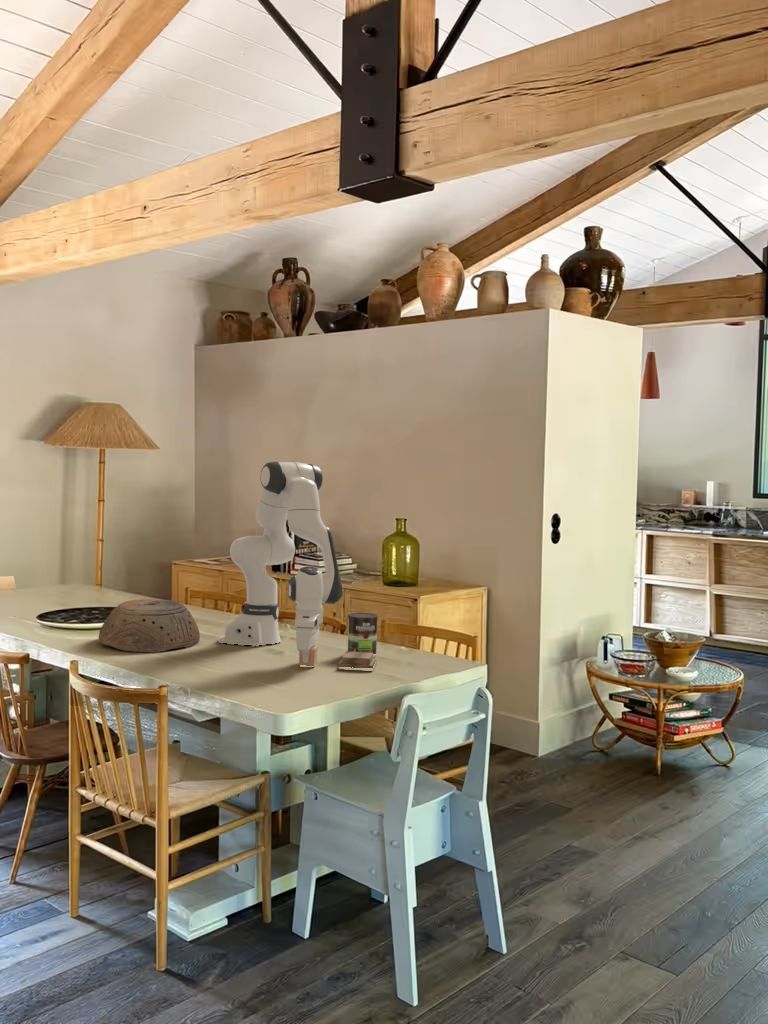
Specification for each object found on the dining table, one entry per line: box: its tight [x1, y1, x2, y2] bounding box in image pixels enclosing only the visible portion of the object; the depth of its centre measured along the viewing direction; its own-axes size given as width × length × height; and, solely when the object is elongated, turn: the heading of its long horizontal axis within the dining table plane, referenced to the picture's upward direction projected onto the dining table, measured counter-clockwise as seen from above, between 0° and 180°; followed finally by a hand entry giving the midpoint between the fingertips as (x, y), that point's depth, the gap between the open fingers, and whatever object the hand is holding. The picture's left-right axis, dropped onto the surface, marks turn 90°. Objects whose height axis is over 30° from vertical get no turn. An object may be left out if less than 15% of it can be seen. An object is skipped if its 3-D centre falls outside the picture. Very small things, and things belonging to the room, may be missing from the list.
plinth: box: [337, 651, 377, 668], centre depth 301 cm, size 11×11×4 cm
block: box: [298, 646, 318, 666], centre depth 301 cm, size 5×5×6 cm
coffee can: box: [347, 612, 379, 655], centre depth 319 cm, size 10×10×14 cm
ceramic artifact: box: [98, 598, 201, 653], centre depth 331 cm, size 35×36×15 cm
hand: (308, 659), depth 301 cm, fingers open, 7 cm apart
